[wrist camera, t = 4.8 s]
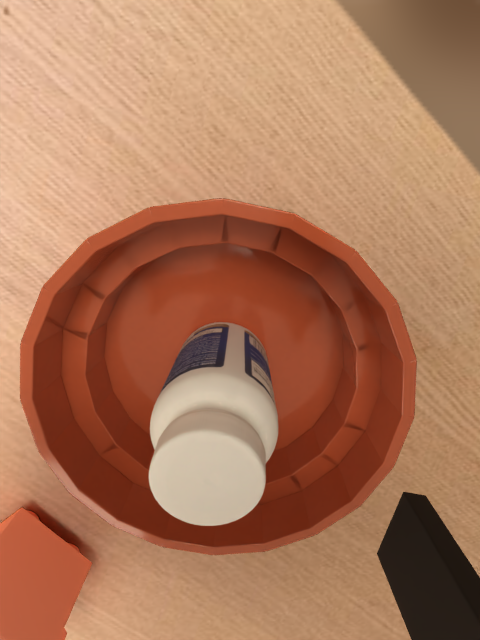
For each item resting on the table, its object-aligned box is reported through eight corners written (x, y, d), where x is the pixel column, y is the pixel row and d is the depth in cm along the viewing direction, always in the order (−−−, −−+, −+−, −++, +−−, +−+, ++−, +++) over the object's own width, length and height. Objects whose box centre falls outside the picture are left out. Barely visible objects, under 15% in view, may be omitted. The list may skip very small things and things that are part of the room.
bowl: (415, 242, 19) (482, 253, 13) (325, 498, 24) (348, 577, 19) (86, 172, 18) (20, 154, 13) (69, 454, 23) (18, 524, 18)
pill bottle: (171, 388, 21) (114, 524, 12) (190, 309, 20) (142, 394, 10) (253, 409, 22) (260, 557, 12) (279, 333, 20) (309, 436, 11)
